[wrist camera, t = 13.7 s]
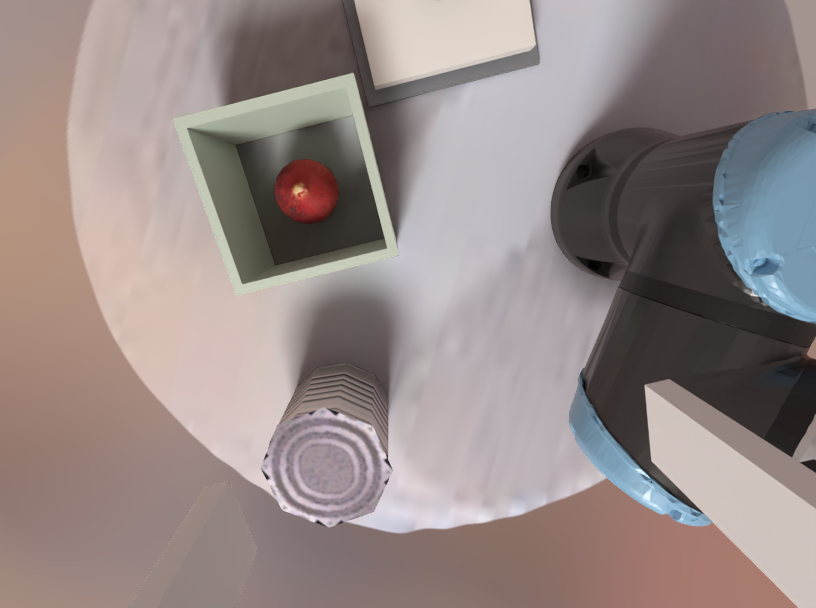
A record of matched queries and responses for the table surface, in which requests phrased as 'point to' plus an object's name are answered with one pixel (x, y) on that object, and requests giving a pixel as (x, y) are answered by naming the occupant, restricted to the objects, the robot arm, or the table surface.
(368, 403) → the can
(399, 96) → the mat
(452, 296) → the table surface
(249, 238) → the box
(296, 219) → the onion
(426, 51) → the lid
